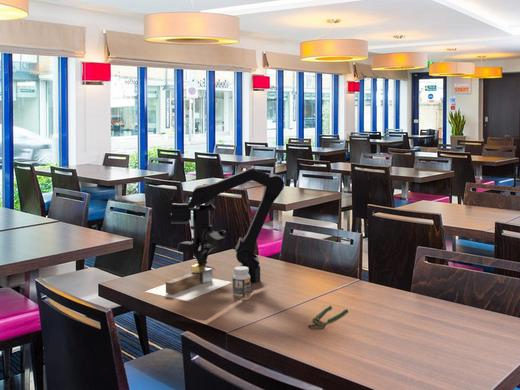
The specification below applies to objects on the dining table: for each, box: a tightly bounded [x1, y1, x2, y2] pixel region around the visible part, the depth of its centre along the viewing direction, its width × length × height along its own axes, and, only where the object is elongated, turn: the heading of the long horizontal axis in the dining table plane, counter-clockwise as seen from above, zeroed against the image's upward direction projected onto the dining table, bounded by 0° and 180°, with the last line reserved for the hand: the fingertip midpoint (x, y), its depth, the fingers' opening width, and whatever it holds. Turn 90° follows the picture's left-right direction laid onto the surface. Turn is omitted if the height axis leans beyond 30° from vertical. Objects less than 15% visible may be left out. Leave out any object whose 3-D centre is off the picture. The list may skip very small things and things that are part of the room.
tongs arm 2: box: [168, 273, 200, 294], centre depth 202 cm, size 14×1×4 cm, turn 146°
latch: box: [190, 263, 206, 273], centre depth 208 cm, size 3×4×2 cm
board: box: [144, 277, 233, 302], centre depth 205 cm, size 18×24×1 cm
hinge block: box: [192, 266, 213, 284], centre depth 211 cm, size 5×4×4 cm
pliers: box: [307, 305, 349, 330], centre depth 177 cm, size 20×6×1 cm, turn 148°
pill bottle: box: [232, 265, 252, 301], centre depth 195 cm, size 6×6×10 cm
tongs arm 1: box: [165, 271, 195, 294], centre depth 202 cm, size 14×1×4 cm, turn 146°
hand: (202, 267), depth 210 cm, fingers closed
